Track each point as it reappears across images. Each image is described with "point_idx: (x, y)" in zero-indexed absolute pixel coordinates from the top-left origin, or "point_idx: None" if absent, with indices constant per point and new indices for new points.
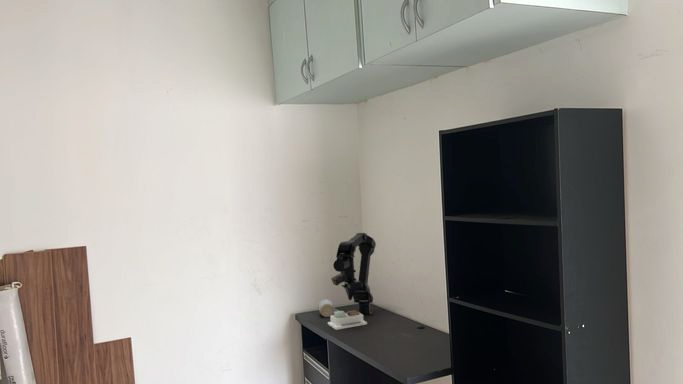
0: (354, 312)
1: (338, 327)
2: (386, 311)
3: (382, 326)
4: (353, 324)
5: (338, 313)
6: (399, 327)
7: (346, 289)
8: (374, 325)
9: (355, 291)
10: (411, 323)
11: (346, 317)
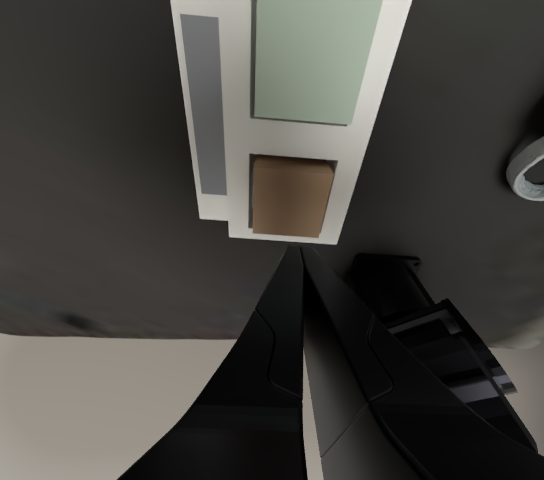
0: (262, 204)
1: None
2: None
3: (134, 247)
4: (190, 129)
5: (265, 6)
6: (97, 283)
7: (374, 420)
8: (166, 229)
9: (465, 391)
10: (139, 324)
11: (225, 100)
